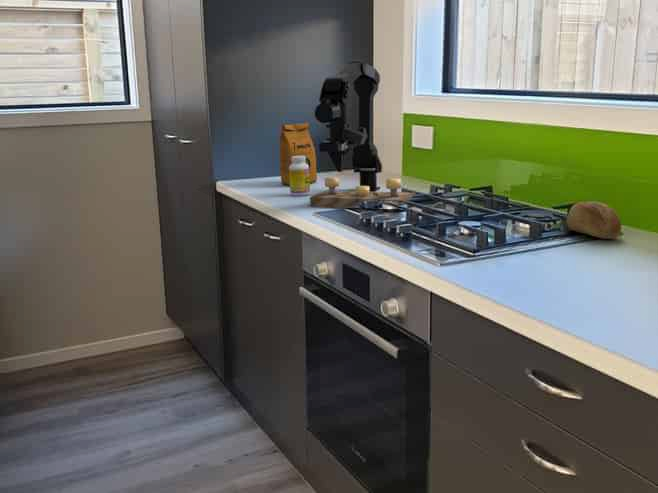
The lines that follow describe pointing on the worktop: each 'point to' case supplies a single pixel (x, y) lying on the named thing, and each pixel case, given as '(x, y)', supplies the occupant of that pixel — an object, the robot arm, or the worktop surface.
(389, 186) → the button
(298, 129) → the coffee package
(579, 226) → the bread roll
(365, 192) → the button centre
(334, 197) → the mount board
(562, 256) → the worktop surface
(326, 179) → the button
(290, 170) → the supplement bottle
